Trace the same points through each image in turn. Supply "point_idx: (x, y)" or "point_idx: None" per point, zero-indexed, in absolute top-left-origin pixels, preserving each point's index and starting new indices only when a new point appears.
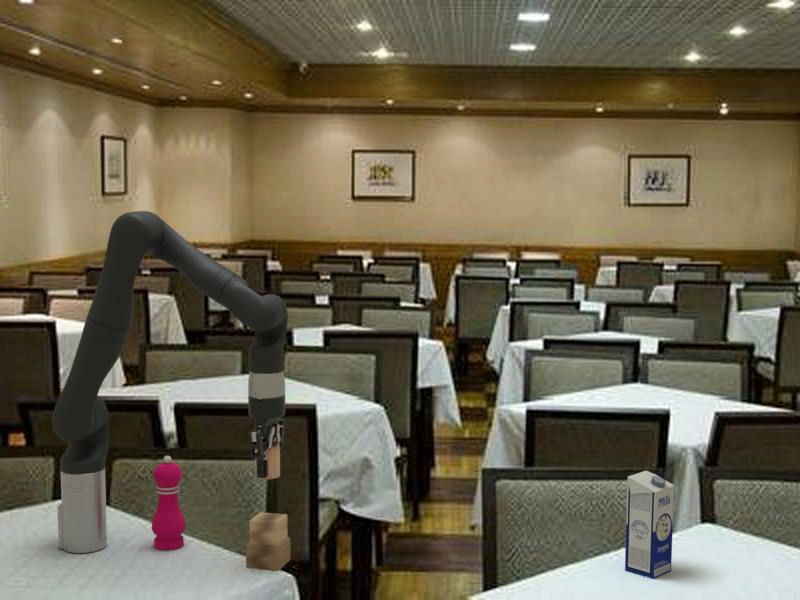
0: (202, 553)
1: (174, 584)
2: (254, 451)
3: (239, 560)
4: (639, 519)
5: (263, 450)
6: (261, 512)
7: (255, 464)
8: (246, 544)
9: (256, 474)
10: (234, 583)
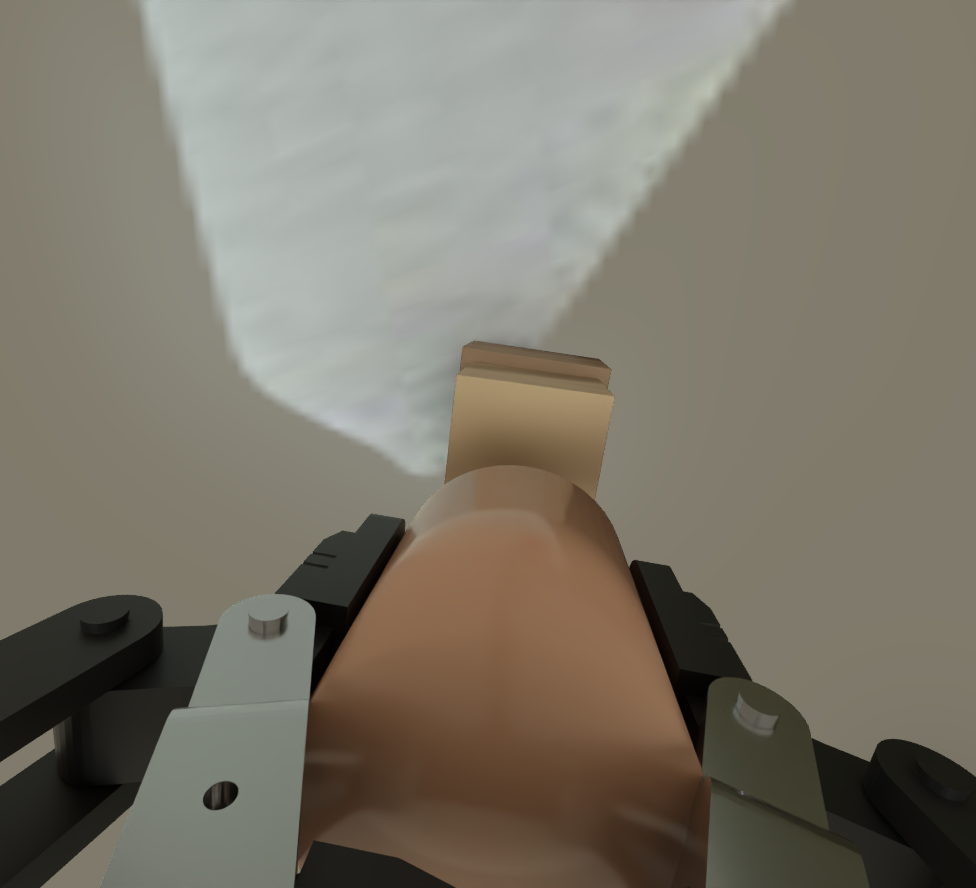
0: (613, 102)
1: (258, 116)
2: (65, 706)
3: (547, 292)
4: None
5: (58, 868)
6: (609, 403)
7: (466, 511)
8: (467, 348)
9: (436, 496)
10: (319, 341)
